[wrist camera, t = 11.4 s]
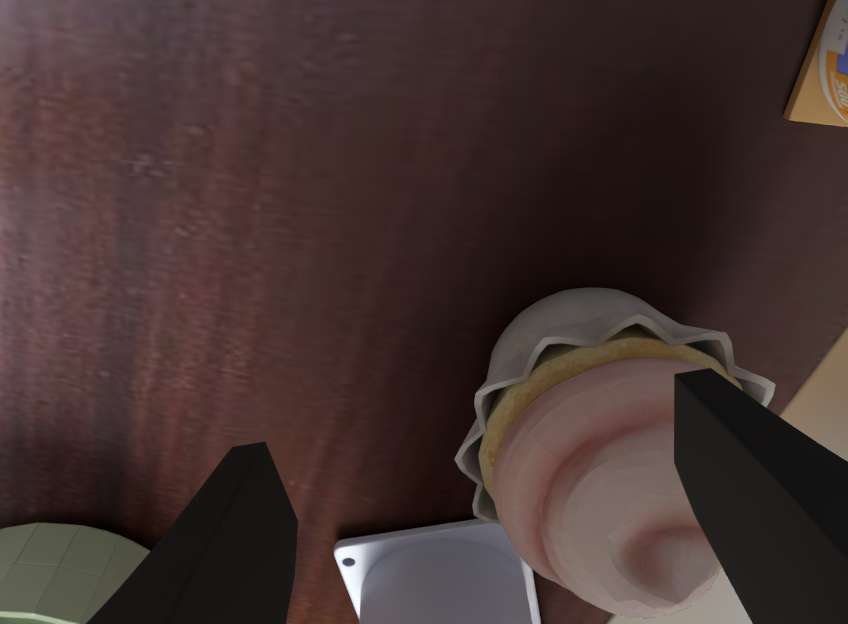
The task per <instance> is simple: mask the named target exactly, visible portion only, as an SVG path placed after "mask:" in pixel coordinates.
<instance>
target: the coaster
mask: <svg viewBox="0 0 848 624" xmlns="http://www.w3.org/2000/svg"><path fill="white" fill-rule="evenodd" d="M836 1H837V0H827V3H826V6H825V8H824V11H823V13H822V16H821V19H820V21H819V24H818V26H817V29H816V32H815V34H814V37H813V39H812V42H811V44H810V47H809V50H808V52H807V55H806V57H805V60H804V63H803V65H802V68H801V70H800V73H799V75H798V78H797V81H796V83H795V86H794V88H793V91H792V94H791V96H790V99H789V101H788V104H787V107H786V109H785V112H784V114H783V117H784V118H786V119H788V120H792V121H800V122H809V123H817V124H825V125H834V126H842V127H848V122H846V121H845V120H844V119H842V118H841V117H840V116H839V115H838V114H837V113H836V111H835V110H834V109H833V108H832V106H831V105H830V103H829V102H828V100H827V98H826V96H825V94H824V91H823V88H822V85H821V81H820V76H819V67H818V59H819V47H820V42H821V37H822V33H823V30H824V27H825V25H826V22H827V19H828V17H829V14H830V12H831V10H832V8H833V6H834V4H835V2H836Z"/></svg>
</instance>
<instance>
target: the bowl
mask: <svg viewBox="0 0 848 624" xmlns="http://www.w3.org/2000/svg"><path fill="white" fill-rule="evenodd" d="M149 552H150V550H148V549H146V548H145V547H143V546H141V545H139V544H138V543H136V542H134V541H132V540H130V539H128V538H125V537H123V536H121V535H118V534H115V533H112V532H109V531H106V530H102V529H98V528H94V527H89V526H84V525H74V524H56V523H39V522H38V523H32V524H26V525H19V526H13V527H7V528H3V529H0V624H86V623H87V622H88V621H89V620H90V619H91V618H92V617H93V615H94V614H95V613H96V612H97V611H98V610H99V609H100V608H101V607H102V606H103V605H104V604H105V603H106V602H107V601H108V600H109V598H110V597H111V596H112V595H113V594H114V593H115V592H116V591H117V590H118V589H119V587H120V586H121V585H122V584H123V583H124V582H125V580H126V579H127V578H128V577H129V576H130V575H131V573H132V572H133V571H134V570H135V569H136V568H137V566H138V565H139V564H140V563H141V562H142V561H143V559H144V558H145V557H146V556H147V555H148V554H149Z"/></svg>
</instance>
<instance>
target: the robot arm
mask: <svg viewBox="0 0 848 624" xmlns="http://www.w3.org/2000/svg"><path fill="white" fill-rule="evenodd" d="M674 464H675V467H676V469H677V472H678V475H679V477H680V480H681V482H682V485H683V488H684V490H685V493H686V495H687V498H688V500H689V503H690V505H691V508H692V510H693V513H694V515H695V517H696V519H697V521H698V523H699V525H700V527H701V529H702V531H703V532H704V534H705V536H706V538H707V540H708V542H709V544H710V546H711V547H712V549H713V551H714V553H715V555H716V557H717V559H718V560H719V562H720V564H721V566H722V568H723V570H724V571H725V573H726V575H727V577H728V579H729V581H730V582H731V584H732V586H733V588H734V590H735V592H736V594H737V595H738V597H739V599H740V601H741V603H742V605H743V606H744V608H745V610H746V612H747V614H748V616H749V617H750V619H751V621H752V623H753V624H848V462H847V461H846V460H844V459H842V458H841V457H839V456H838V455H836V454H834V453H833V452H831V451H830V450H828V449H827V448H825V447H823V446H822V445H820V444H819V443H817V442H816V441H814V440H813V439H811V438H810V437H808V436H807V435H805V434H804V433H802V432H801V431H799V430H798V429H796V428H795V427H793V426H792V425H790V424H789V423H787V422H786V421H785V420H783V419H782V418H780V417H779V416H777V415H776V414H775V413H773V412H772V411H770V410H769V409H767V408H766V407H765V406H763V405H762V404H760V403H759V402H758V401H756V400H755V399H753V398H752V397H751V396H749V395H748V394H747V393H745V392H744V391H742V390H741V389H740V388H738V387H737V386H735V385H734V384H733V383H731V382H730V381H729V380H727V379H726V378H724V377H723V376H722V375H720V374H719V373H717V372H716V371H715V370H713V369H712V368H707V369H701V370H695V371H689V372H683V373H677V374H674ZM297 529H298V520H297V518H296V515H295V513H294V510H293V508H292V505H291V503H290V501H289V498H288V496H287V493H286V491H285V488H284V486H283V484H282V481H281V479H280V476H279V474H278V471H277V469H276V467H275V464H274V462H273V459H272V457H271V454H270V452H269V450H268V447H267V445H266V442H260V443H254V444H248V445H242V446H236V447H232V448H231V450H230V451H229V452H228V453H227V454H226V456H225V457H224V458H223V459H222V461H221V462H220V463H219V465H218V466H217V467H216V469H215V470H214V471H213V472H212V474H211V475H210V476H209V478H208V479H207V480H206V482H205V483H204V484H203V486H202V487H201V488H200V490H199V491H198V492H197V494H196V495H195V496H194V497H193V499H192V500H191V501H190V503H189V504H188V505H187V506H186V508H185V509H184V510H183V512H182V513H181V514H180V515H179V517H178V518H177V519H176V520H175V522H174V523H173V524H172V526H171V527H170V528H169V529H168V531H167V532H166V533H165V534H164V536H163V537H162V538H161V539H160V541H159V542H158V543H157V544H156V545H155V547H154V548H153V549H152V550H151V551H150V552H149V554H148V555H147V556H146V557H145V558H144V559H143V561H142V562H141V563H140V564H139V565H138V566H137V568H136V569H135V570H134V571H133V572H132V573H131V575H130V576H129V577H128V578H127V579H126V580H125V582H124V583H123V584H122V585H121V586H120V587H119V589H118V590H117V591H116V592H115V593H114V594H113V595H112V596H111V597H110V598H109V600H108V601H107V602H106V603H105V604H104V605H103V606H102V607H101V608H100V609H99V610H98V611H97V612H96V613H95V614H94V615H93V617H92V618H91V619H90V620H89V621H88V622H87V623H86V624H286V619H287V613H288V608H289V603H290V597H291V592H292V587H293V581H294V575H295V562H296V548H297ZM334 556H335V559H336V561H337V564H338V566H339V569H340V572H341V574H342V577H343V579H344V582H345V585H346V587H347V590H348V592H349V595H350V598H351V600H352V603H353V605H354V608H355V610H356V613H357V616H358V618H359V624H541V620H540V614H539V608H538V601H537V595H536V589H535V583H534V577H533V570H532V568H530V567H529V566H528V565H527V564H526V563H525V561H524V560H523V559H522V558H521V556H520V555H519V553H518V552H517V551H516V549H515V548H514V546H513V545H512V543H511V542H510V540H509V538H508V537H507V535H506V533H505V531H504V529H503V527H502V525H500V524H495V523H491V522H486V521H484V520H482V519H480V518H479V519H473V520H466V521H460V522H453V523H447V524H440V525H434V526H427V527H421V528H414V529H407V530H401V531H394V532H388V533H381V534H375V535H368V536H362V537H355V538H349V539H343V540H340V541H338V542H337V543H336V544H335V546H334ZM350 558H351V559H350Z"/></svg>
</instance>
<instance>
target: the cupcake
mask: <svg viewBox="0 0 848 624" xmlns="http://www.w3.org/2000/svg"><path fill="white" fill-rule="evenodd" d="M707 368H712V369H713V370H715V371H716V372H717V373H719V374H720V375H722V376H723V377H724V378H726V379H727V380H729V381H730V382H731V383H733V384H734V385H735V386H737V387H738V388H740V389H741V390H742V391H744V392H745V393H747V394H748V395H749V396H751V397H752V398H753V399H755V400H756V401H758V402H759V403H760V404H762V405H763V406H765V407H767V405H768V404H769V402H770V400H771V398H772V396H773V394H774V389H775V384H774V383H772V382H771V381H769V380H768V379H766V378H763V377H761V376H759V375H756V374H754V373H751V372H749V371H746V370H744V369H742V368H739V367H737V366H735V364H734V357H733V350H732V342H731V340H730V339H729V337H728V335H727V334H726V333H725V332H719V331H714V330H708V329H702V328H697V327H691V326H685V325H680V324H679V323H677V322H675V321H674V320H672V319H670V318H669V317H667V316H665V315H663V314H662V313H660V312H659V311H657V310H656V309H655V308H653V307H652V306H650V305H649V304H648V303H646V302H644V301H643V300H641V299H640V298H638V297H635V296H633V295H631V294H628V293H626V292H623V291H620V290H617V289H608V288H591V287H587V288H576V289H569V290H563V291H561V292H558V293H555V294H553V295H550V296H548V297H546V298H543V299H541V300H539V301H538V302H536V303H534V304H533V305H531V306H529V307H528V308H526V309H525V310H523V311H522V312H521V313H520V314H519V315H518V316H517V317H516V318H515V319H514V320H513V321H512V322H511V323H510V324H509V326H508V327H507V328H506V329H505V330H504V332H503V333H502V335H501V336H500V338H499V340H498V341H497V343H496V345H495V347H494V349H493V351H492V355H491V360H490V365H489V370H488V375H487V381H486V382H485V383H484V384H483V385H482V386H481V388H480V389H479V390H478V391H477V392H476V394H475V402H474V405H475V410H476V414H477V418H476V420H475V422H474V424H473V426H472V427H471V429H470V431H469V433H468V435H467V437H466V438H465V440H464V442H463V444H462V446H461V448H460V450H459V451H458V453H457V455H456V457H455V461H456V463H457V465H458V467H459V469H460V470H461V471H462V472H463V473H464V474H466V475H467V476H468V477H469V478H471V479H472V480H473V481H474V482H475V483H477V488H476V492H475V496H474V500H473V504H472V507H473V513H474V516H476V517H478V518H480V519H482V520H484V521H486V522H491V523H495V524H500V525H502V527H503V529H504V531H505V533H506V535H507V537H508V538H509V540H510V542H511V543H512V545H513V546H514V548H515V549H516V551H517V552H518V553H519V555H520V556H521V558H522V559H523V560H524V561H525V563H526V564H527V565H528V566H529V567H530V568H532V569H533V570H534V571H536V572H537V573H538V574H540V575H541V576H542V577H544V578H547V579H549V580H551V581H554V582H556V583H558V584H559V585H561V586H562V587H564V588H566V589H569V590H571V591H572V592H573V593H575V594H576V595H577V596H579V597H580V598H581V599H582V600H585V601H587V602H589V603H591V604H593V605H595V606H597V607H599V608H601V609H603V610H605V611H608V612H611V613H613V614H616V615H620V616H625V617H629V618H643V619H647V618H654V617H660V616H666V615H671V614H675V613H678V612H680V611H683V610H685V609H687V608H689V607H691V606H692V605H693V604H694V603H696V602H697V601H698V600H699V599H700V598H702V597H703V596H704V595H705V594H706V593H707V592H708V591H709V590H710V588H711V587H712V585H713V583H714V581H715V579H716V578H717V576H718V574H719V573H720V572H722V571H724V570H723V568H722V566H721V564H720V562H719V560H718V559H717V557H716V555H715V553H714V551H713V549H712V547H711V546H710V544H709V542H708V540H707V538H706V536H705V534H704V532H703V531H702V529H701V527H700V525H699V523H698V521H697V519H696V517H695V515H694V513H693V510H692V508H691V505H690V503H689V500H688V498H687V495H686V493H685V490H684V488H683V485H682V482H681V480H680V477H679V475H678V472H677V469H676V467H675V464H674V374H677V373H683V372H689V371H695V370H701V369H707Z"/></svg>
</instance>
